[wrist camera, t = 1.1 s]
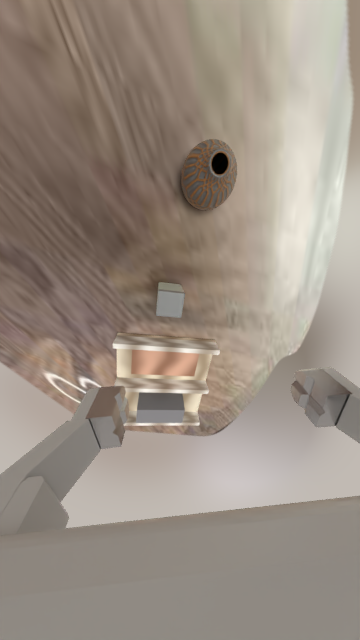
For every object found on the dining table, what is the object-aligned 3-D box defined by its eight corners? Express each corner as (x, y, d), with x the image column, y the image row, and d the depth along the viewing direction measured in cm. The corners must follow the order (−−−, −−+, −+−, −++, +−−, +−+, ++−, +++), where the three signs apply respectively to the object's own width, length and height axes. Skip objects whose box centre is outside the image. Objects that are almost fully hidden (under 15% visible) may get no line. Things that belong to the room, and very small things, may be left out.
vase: (209, 221, 28) (228, 215, 20) (170, 197, 26) (175, 179, 18) (233, 174, 26) (265, 146, 18) (193, 143, 24) (209, 97, 16)
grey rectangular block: (156, 302, 33) (156, 315, 28) (158, 281, 31) (158, 290, 26) (177, 305, 34) (181, 317, 28) (180, 284, 32) (185, 293, 27)
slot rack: (117, 410, 44) (113, 425, 40) (117, 332, 35) (113, 343, 31) (195, 410, 47) (198, 425, 43) (214, 339, 38) (220, 350, 34)
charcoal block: (138, 403, 42) (136, 422, 38) (139, 390, 40) (136, 409, 36) (179, 403, 44) (182, 422, 39) (182, 391, 42) (184, 410, 37)
